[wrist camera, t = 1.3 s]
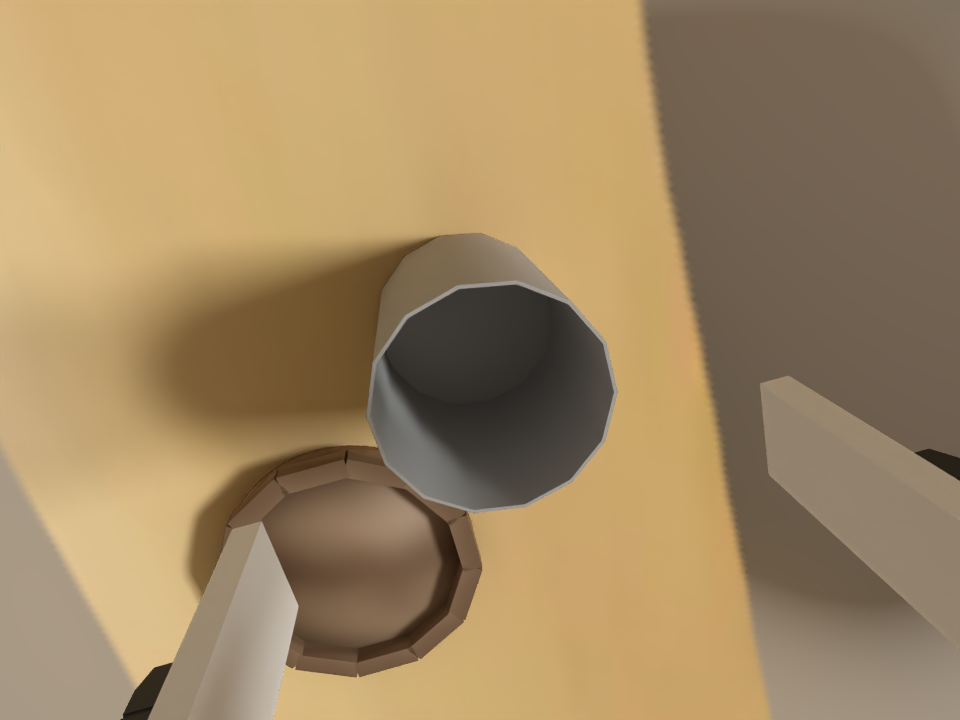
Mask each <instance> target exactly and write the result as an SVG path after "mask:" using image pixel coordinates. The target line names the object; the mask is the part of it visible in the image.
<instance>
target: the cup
mask: <svg viewBox="0 0 960 720" xmlns="http://www.w3.org/2000/svg"><path fill="white" fill-rule="evenodd" d="M617 393H618V391H617V387H616V382H615V378H614V373H613V369H612V365H611V360H610V356H609V351H608V347H607V342H606V341H605V340H604V338H603V337H602V336H601V335H600V334H599V333H598V332H597V330H596V329H595V328H594V327H593V326H592V325H591V324H590V322H589V321H588V320H587V319H586V318H585V317H584V316H583V314H582V313H581V312H580V311H579V310H578V309H577V307H576V306H575V305H574V304H573V303H572V302H571V301H570V300H569V299H568V298H567V297H566V296H565V295H564V294H563V293H562V292H561V291H560V290H559V289H558V288H557V287H556V286H555V285H554V284H553V283H552V282H551V281H550V280H549V279H548V278H547V277H546V276H545V275H544V274H543V273H542V272H541V271H540V270H539V269H538V268H537V267H536V266H535V265H534V264H533V263H532V262H531V261H530V260H529V259H528V258H527V257H526V256H525V255H524V254H523V253H522V252H521V251H520V250H519V249H518V248H517V247H515V246H512V245H510V244H507V243H505V242H502V241H500V240H497V239H495V238H492V237H490V236H487V235H485V234H482V233H471V234H458V235H444V236H439V237H437V238H435V239H433V240H432V241H430V242H428V243H426V244H425V245H423V246H421V247H420V248H418V249H416V250H414V251H413V252H411V253H409V254H408V255H406V256H404V258H403V259H402V261H401V262H400V264H399V265H398V267H397V268H396V270H395V271H394V273H393V274H392V276H391V277H390V279H389V280H388V282H387V283H386V285H385V286H384V288H383V289H382V294H381V302H380V309H379V317H378V325H377V333H376V340H375V348H374V356H373V364H372V372H371V380H370V388H369V397H368V405H367V413H366V418H367V420H368V423H369V425H370V428H371V431H372V433H373V436H374V438H375V441H376V443H377V446H378V448H379V451H380V453H381V456H382V458H383V461H384V464H385V465H386V466H387V467H388V468H389V469H390V470H391V471H393V472H394V473H395V474H396V475H397V476H398V477H399V478H401V479H402V480H403V481H404V482H405V483H406V484H407V485H409V486H410V487H411V488H412V489H413V490H414V491H415V492H417V493H418V494H419V495H420V496H421V497H422V498H423V499H427V500H430V501H434V502H437V503H440V504H444V505H447V506H451V507H454V508H458V509H461V510H464V511H468V512H471V513H479V512H488V511H496V510H505V509H514V508H523V507H527V506H529V505H531V504H533V503H534V502H536V501H538V500H540V499H542V498H544V497H545V496H547V495H549V494H551V493H553V492H555V491H557V490H558V489H560V488H562V487H564V486H566V485H568V484H569V483H571V482H573V480H574V479H575V478H576V477H577V476H578V474H579V473H580V472H581V471H582V469H583V468H584V467H585V466H586V464H587V463H588V462H589V461H590V459H591V458H592V457H593V456H594V454H595V453H596V452H597V451H598V450H599V448H600V447H601V446H602V445H603V443H604V442H605V440H606V436H607V432H608V428H609V424H610V420H611V416H612V412H613V408H614V404H615V400H616V396H617Z"/></svg>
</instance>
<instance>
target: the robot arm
mask: <svg viewBox="0 0 960 720" xmlns="http://www.w3.org/2000/svg"><path fill="white" fill-rule="evenodd" d="M760 389H761V399H762V409H763V420H764V429H765V441H766V451H767V461H768V472H769V475H770V476H771V477H772V478H773V479H774V480H775V481H776V482H777V483H779V484H780V485H781V486H782V487H783V488H784V489H785V490H786V491H787V492H788V493H789V494H791V495H792V496H793V497H794V498H795V499H796V500H797V501H798V502H799V503H800V504H801V505H802V506H803V507H805V508H806V509H807V510H808V511H809V512H810V513H811V514H812V515H813V516H814V517H816V518H817V519H818V520H819V521H820V522H821V523H822V524H823V525H824V526H825V527H826V528H827V529H829V530H830V531H831V532H832V533H833V534H834V535H835V536H836V537H837V538H838V539H839V540H841V541H842V542H843V543H844V544H845V545H846V546H847V547H848V548H849V549H850V550H851V551H852V552H854V553H855V554H856V555H857V556H858V557H859V558H860V559H861V560H862V561H863V562H864V563H866V564H867V565H868V566H869V567H870V568H871V569H872V570H873V571H874V572H875V573H876V574H877V575H879V576H880V577H881V578H882V579H883V580H884V581H885V582H886V583H887V584H888V585H890V586H891V587H892V588H893V589H894V590H895V591H896V592H897V593H898V594H899V595H900V596H901V597H903V598H904V599H905V600H906V601H907V602H908V603H909V604H910V605H911V606H912V607H914V609H916V610H917V611H918V612H919V613H920V614H921V615H922V616H923V617H924V618H925V619H926V620H928V621H929V622H930V623H931V624H932V625H933V626H934V627H935V628H936V629H937V630H938V631H940V632H941V633H942V634H943V635H944V636H945V637H946V638H947V639H948V640H950V642H951V643H953V644H954V645H955V646H956V647H957V648H958V649H959V650H960V458H958V457H955V456H951V455H948V454H945V453H941V452H938V451H935V450H932V449H926V450H922V451H919V452H915V453H913V452H912V451H910V450H908V449H907V448H905V447H904V446H902V445H900V444H899V443H897V442H896V441H894V440H892V439H891V438H889V437H887V436H886V435H884V434H882V433H881V432H879V431H877V430H876V429H874V428H873V427H871V426H869V425H868V424H866V423H865V422H863V421H861V420H860V419H858V418H856V417H855V416H853V415H852V414H850V413H848V412H847V411H845V410H843V409H842V408H840V407H838V406H837V405H835V404H834V403H832V402H830V401H829V400H827V399H825V398H824V397H822V396H821V395H819V394H817V393H816V392H814V391H812V390H810V389H809V388H808V387H806V386H804V385H803V384H801V383H799V382H798V381H796V380H795V379H793V378H791V377H790V376H786V377H782V378H779V379H775V380H771V381H768V382H764V383H760ZM298 607H299V606H298V603H297V601H296V599H295V596H294V594H293V592H292V590H291V587H290V585H289V583H288V580H287V578H286V576H285V574H284V571H283V569H282V567H281V564H280V562H279V560H278V557H277V555H276V553H275V551H274V548H273V546H272V544H271V541H270V539H269V537H268V535H267V532H266V530H265V528H264V525H263V523H262V521H261V522H257V523H253V524H250V525H246V526H242V527H239V528H235V529H232V531H231V533H230V535H229V537H228V540H227V542H226V544H225V546H224V549H223V551H222V553H221V555H220V558H219V560H218V562H217V564H216V567H215V569H214V571H213V573H212V576H211V578H210V580H209V582H208V585H207V587H206V589H205V591H204V594H203V596H202V598H201V600H200V603H199V605H198V607H197V610H196V612H195V614H194V616H193V619H192V621H191V623H190V625H189V628H188V630H187V632H186V634H185V637H184V639H183V641H182V643H181V646H180V648H179V650H178V652H177V655H176V657H175V659H174V661H173V663H169V664H166V665H162V666H158V667H155V668H154V669H153V670H152V671H151V672H150V673H149V675H148V676H147V677H146V678H145V679H144V680H143V682H142V683H141V684H140V685H139V686H138V687H137V689H136V690H135V691H134V693H133V695H132V697H131V699H130V701H129V703H128V705H127V707H126V709H125V712H124V713H123V719H121V720H273V717H274V713H275V708H276V704H277V699H278V695H279V691H280V686H281V682H282V677H283V673H284V669H285V664H286V660H287V655H288V651H289V647H290V642H291V638H292V633H293V629H294V625H295V620H296V616H297V611H298Z"/></svg>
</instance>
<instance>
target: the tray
mask: <svg viewBox="0 0 960 720" xmlns="http://www.w3.org/2000/svg"><path fill="white" fill-rule="evenodd" d="M261 521H262V523H263V525H264V528H265V530H266V532H267V535H268V537H269V539H270V541H271V544H272V546H273V548H274V551H275V553H276V555H277V557H278V560H279V562H280V564H281V567H282V569H283V571H284V574H285V576H286V578H287V580H288V583H289V585H290V587H291V590H292V592H293V594H294V596H295V599H296V601H297V603H298V606H299V607H298V611H297V616H296V620H295V625H294V629H293V633H292V638H291V642H290V647H289V651H288V655H287V660H286V665H287V666H289V667H290V668H293V667H295V666H296V668H295V670H302V671H310V672H318V673H325V674H333V675H341V676H349V677H357V673H358V674H359V677H362V676H365V675H369V674H372V673H376V672H380V671H383V670H387V669H390V668H394V667H397V666H401V665H404V664H408V663H411V662H415V661H418V658H420V659H421V658H423V657H424V656H425V655H426V654H427V653H428V652H430V651H431V650H432V649H433V648H434V647H435V646H437V645H438V644H439V643H440V642H441V641H442V640H444V639H445V638H446V637H447V636H448V635H449V634H450V633H452V632H453V631H454V630H455V629H456V628H457V627H459V626H460V625H461V624H462V623H463V622H464V621H463V619H464V620H465V619H466V616H467V613H468V610H469V607H470V605H471V602H472V599H473V596H474V593H475V590H476V587H477V584H478V581H479V578H480V575H481V572H482V562H481V557H480V553H479V549H478V546H477V543H476V539H475V536H474V532H473V527H472V523H471V520H470V517H469V514H468V512H467V511H464V510H461V509H458V508H454V507H451V506H447V505H444V504H440V503H437V502H434V501H430V500H427V499H423V498H422V497H421V496H420V495H419V494H418V493H417V492H415V491H414V490H413V489H412V488H411V487H410V486H409V485H407V484H406V483H405V482H404V481H403V480H402V479H401V478H399V477H398V476H397V475H396V474H395V473H394V472H393V471H391V470H390V469H389V468H388V467H387V466H386V465H385V464H384V461H383V458H382V456H381V453H380V451H379V448H376V447H369V446H340V447H331V448H326V449H321V450H316V451H313V452H310V453H307V454H304V455H301V456H298V457H296V458H294V459H292V460H290V461H288V462H286V463H284V464H282V465H281V466H279V467H277V468H276V469H274V470H273V471H271V472H270V473H269V474H267V475H266V476H265V477H264V478H263V479H262V480H260V481H259V482H258V483H257V484H256V485H255V487H254V488H253V489H252V490H251V491H250V492H249V493H248V495H247V496H246V498H245V499H244V501H243V502H242V504H241V505H240V506H239V507H238V508H237V509H236V510H235V511H234V512H233V513H232V515H231V516H230V519H229V521H228V523H227V525H226V528H225V534H224V539H223V544H222V550H221V553H222V551H223V549H224V546H225V544H226V542H227V540H228V537H229V535H230V533H231V531H232V529H235V528H239V527H242V526H246V525H250V524H253V523H257V522H261Z"/></svg>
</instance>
